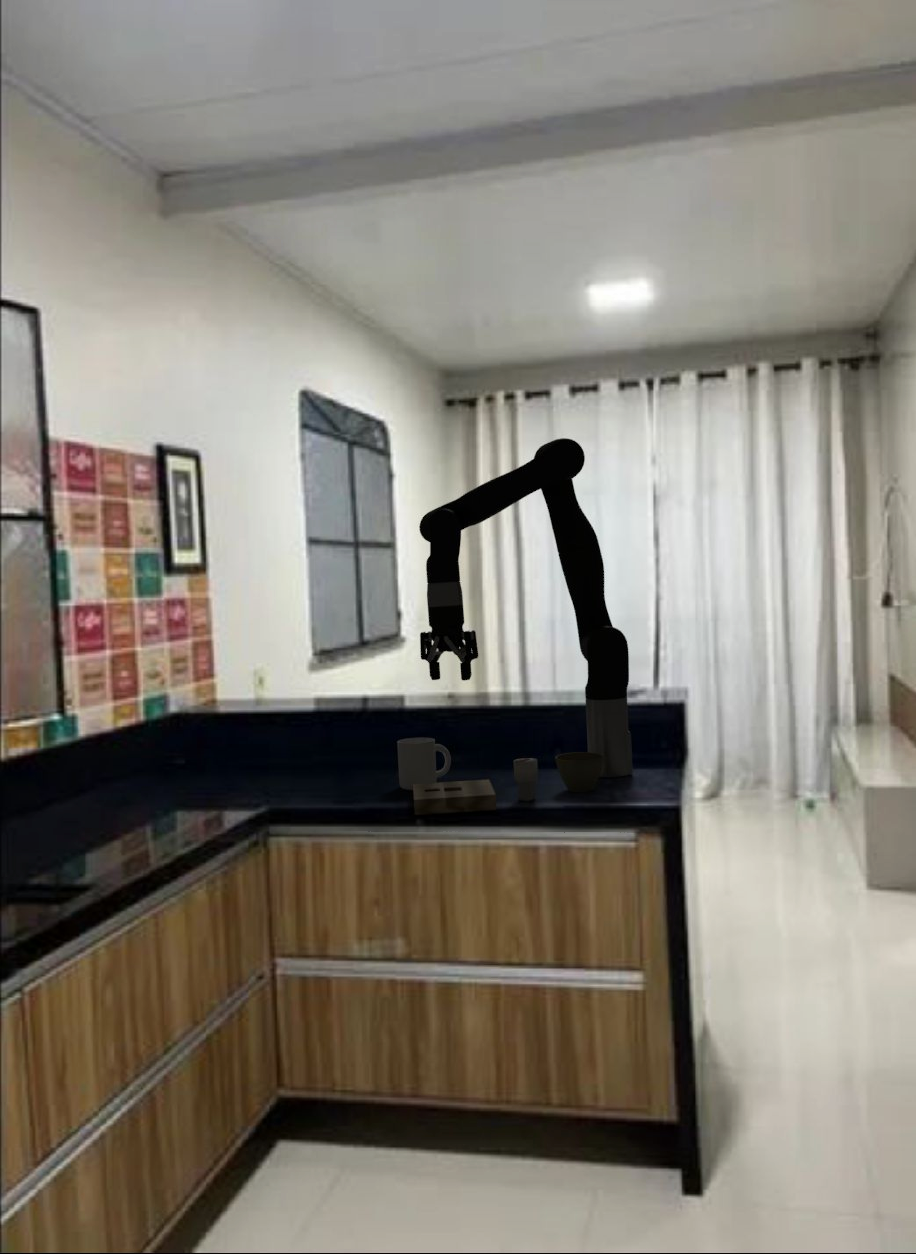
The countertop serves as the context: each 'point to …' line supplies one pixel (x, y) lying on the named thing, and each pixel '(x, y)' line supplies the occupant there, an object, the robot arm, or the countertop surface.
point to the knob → (526, 777)
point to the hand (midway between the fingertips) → (450, 679)
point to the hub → (453, 797)
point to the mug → (419, 761)
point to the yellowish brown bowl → (579, 770)
